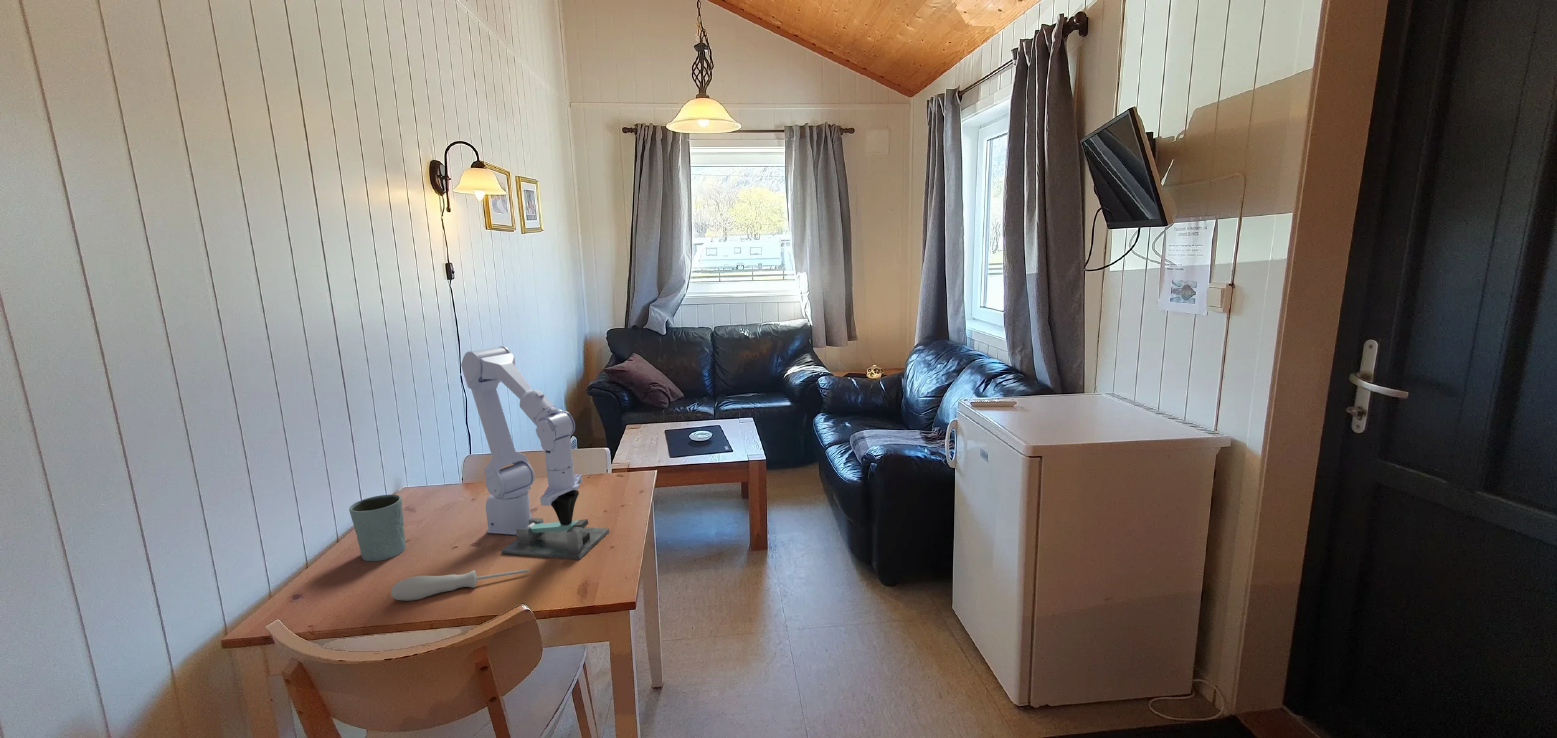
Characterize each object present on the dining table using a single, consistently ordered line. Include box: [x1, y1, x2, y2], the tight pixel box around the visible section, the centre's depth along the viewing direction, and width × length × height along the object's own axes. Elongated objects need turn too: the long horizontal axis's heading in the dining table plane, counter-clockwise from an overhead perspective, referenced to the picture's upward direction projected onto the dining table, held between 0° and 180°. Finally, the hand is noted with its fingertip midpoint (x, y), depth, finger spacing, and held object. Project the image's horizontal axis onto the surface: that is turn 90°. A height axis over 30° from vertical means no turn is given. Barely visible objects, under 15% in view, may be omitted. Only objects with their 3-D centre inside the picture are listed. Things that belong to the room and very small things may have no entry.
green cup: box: [348, 494, 407, 562], centre depth 144 cm, size 10×10×12 cm
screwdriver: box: [390, 569, 531, 602], centre depth 128 cm, size 5×25×4 cm, turn 112°
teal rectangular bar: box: [527, 518, 589, 533], centre depth 147 cm, size 15×3×2 cm, turn 78°
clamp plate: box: [500, 517, 610, 560], centre depth 147 cm, size 19×14×6 cm
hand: (566, 523), depth 146 cm, fingers closed, pressing on teal rectangular bar
